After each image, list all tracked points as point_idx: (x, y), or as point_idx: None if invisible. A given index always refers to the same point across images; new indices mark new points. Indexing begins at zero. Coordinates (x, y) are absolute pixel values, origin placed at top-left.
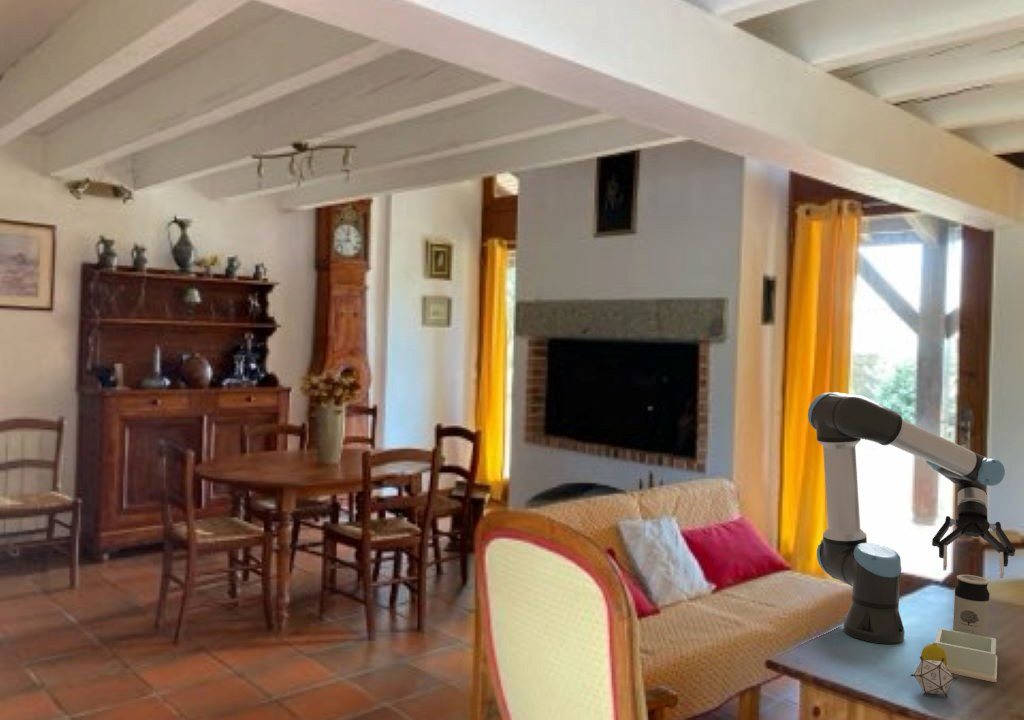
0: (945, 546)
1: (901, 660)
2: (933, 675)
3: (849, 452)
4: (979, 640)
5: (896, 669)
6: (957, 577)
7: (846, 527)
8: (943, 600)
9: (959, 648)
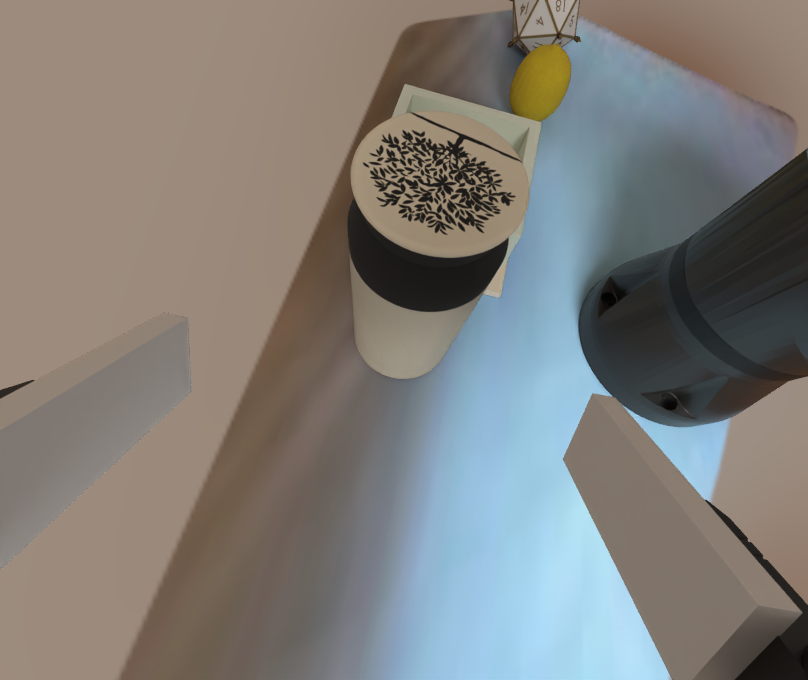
0: (757, 576)
1: (582, 183)
2: None
3: None
4: None
5: (590, 136)
6: (528, 181)
7: None
8: None
9: (483, 108)
